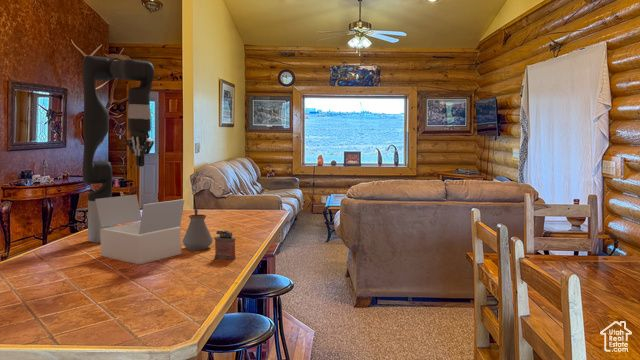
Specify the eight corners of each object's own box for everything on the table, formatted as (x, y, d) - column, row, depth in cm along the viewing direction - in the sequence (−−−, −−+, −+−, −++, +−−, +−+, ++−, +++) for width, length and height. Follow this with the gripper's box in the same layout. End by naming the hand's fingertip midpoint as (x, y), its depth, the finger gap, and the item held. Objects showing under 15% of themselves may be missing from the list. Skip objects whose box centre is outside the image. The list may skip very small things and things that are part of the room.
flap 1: (101, 227, 173) (100, 227, 173) (142, 220, 187) (141, 220, 187) (95, 199, 173) (95, 199, 174) (136, 194, 188) (135, 194, 188)
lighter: (237, 258, 171) (237, 230, 170) (232, 260, 168) (232, 232, 167) (217, 256, 174) (217, 229, 173) (212, 258, 170) (212, 230, 170)
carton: (101, 255, 173) (100, 228, 173) (143, 246, 189) (142, 221, 188) (139, 264, 162) (138, 235, 161) (181, 254, 177) (180, 227, 176)
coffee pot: (213, 250, 183) (213, 211, 181) (182, 252, 179) (181, 213, 178) (210, 239, 203) (209, 204, 202) (182, 240, 200) (181, 205, 199)
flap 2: (143, 204, 159) (144, 204, 159) (183, 199, 173) (184, 199, 173) (139, 233, 161) (140, 234, 161) (179, 225, 176) (180, 226, 175)
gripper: (118, 117, 169) (119, 165, 171) (142, 117, 162) (143, 168, 164) (136, 117, 176) (137, 164, 178) (160, 118, 169) (161, 166, 171)
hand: (140, 166), depth 171 cm, fingers closed
